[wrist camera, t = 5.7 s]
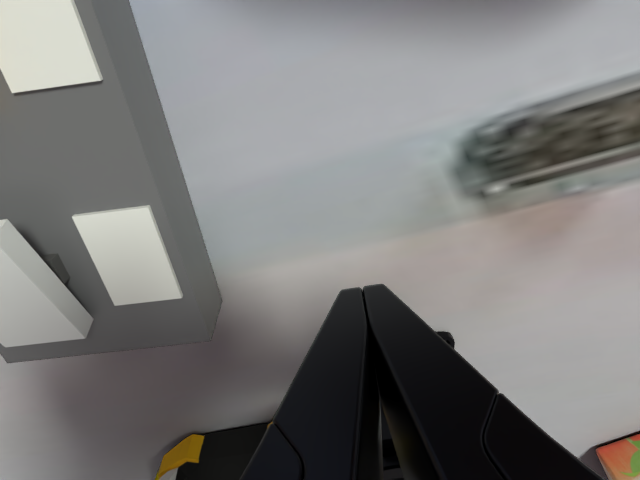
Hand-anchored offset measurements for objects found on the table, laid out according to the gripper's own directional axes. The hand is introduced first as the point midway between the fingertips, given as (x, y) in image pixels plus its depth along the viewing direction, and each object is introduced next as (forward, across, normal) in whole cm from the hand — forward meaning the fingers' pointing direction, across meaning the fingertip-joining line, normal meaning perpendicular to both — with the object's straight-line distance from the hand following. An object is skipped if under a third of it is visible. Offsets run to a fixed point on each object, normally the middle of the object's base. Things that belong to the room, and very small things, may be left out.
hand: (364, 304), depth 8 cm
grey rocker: (+7, +14, +2) cm, 15 cm away
